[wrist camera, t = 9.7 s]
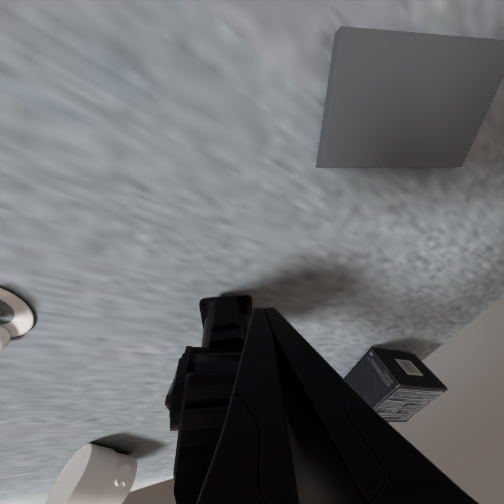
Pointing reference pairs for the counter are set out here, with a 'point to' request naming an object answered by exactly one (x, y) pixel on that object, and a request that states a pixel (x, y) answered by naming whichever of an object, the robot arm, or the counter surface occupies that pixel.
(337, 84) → the mat
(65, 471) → the white cylinder
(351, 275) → the counter surface
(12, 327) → the teacup and saucer
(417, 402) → the small box
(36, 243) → the counter surface
